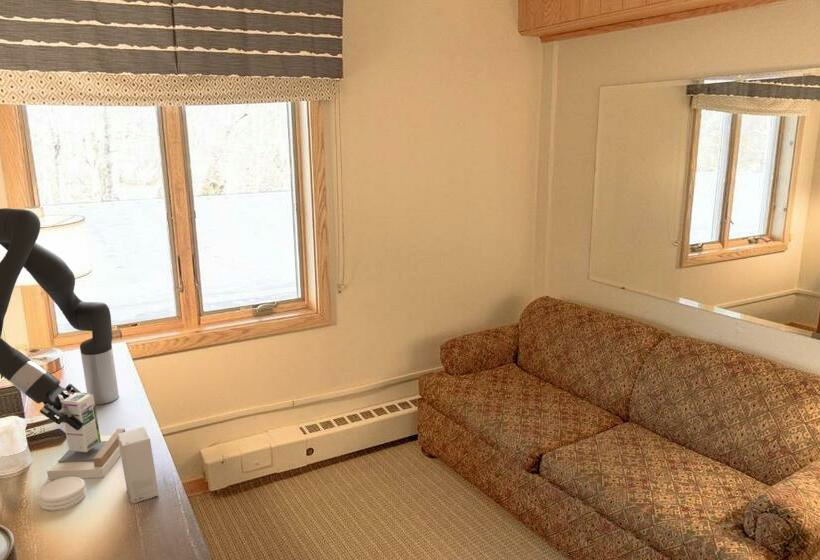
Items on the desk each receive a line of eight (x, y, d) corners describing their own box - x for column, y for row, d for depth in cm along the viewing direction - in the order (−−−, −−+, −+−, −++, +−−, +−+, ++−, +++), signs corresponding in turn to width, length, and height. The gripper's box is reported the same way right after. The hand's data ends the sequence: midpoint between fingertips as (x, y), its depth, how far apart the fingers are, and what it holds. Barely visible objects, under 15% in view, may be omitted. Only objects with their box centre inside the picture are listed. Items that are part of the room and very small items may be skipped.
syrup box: (87, 452, 168) (79, 402, 164) (67, 450, 169) (59, 400, 165) (101, 442, 173) (94, 393, 170) (82, 440, 174) (74, 391, 171)
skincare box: (159, 496, 155) (151, 439, 151) (130, 505, 152) (121, 446, 148) (152, 480, 162) (145, 425, 158) (124, 489, 159) (116, 432, 155)
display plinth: (80, 444, 181) (77, 428, 179) (130, 442, 181) (127, 427, 180) (48, 479, 163) (45, 462, 162) (104, 477, 164) (101, 460, 163)
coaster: (38, 516, 148) (36, 503, 148) (42, 494, 157) (39, 481, 156) (86, 505, 153) (84, 492, 152) (87, 484, 161) (85, 472, 160)
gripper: (29, 383, 158) (84, 424, 162) (57, 361, 172) (107, 400, 176) (11, 403, 159) (65, 444, 163) (40, 380, 173) (90, 418, 177)
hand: (87, 421), depth 169 cm, fingers closed on syrup box, 6 cm apart
